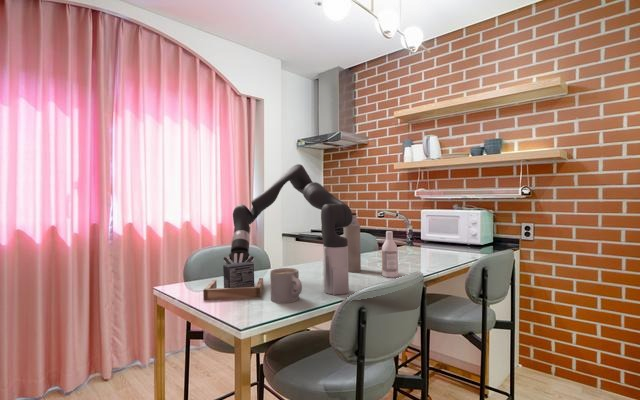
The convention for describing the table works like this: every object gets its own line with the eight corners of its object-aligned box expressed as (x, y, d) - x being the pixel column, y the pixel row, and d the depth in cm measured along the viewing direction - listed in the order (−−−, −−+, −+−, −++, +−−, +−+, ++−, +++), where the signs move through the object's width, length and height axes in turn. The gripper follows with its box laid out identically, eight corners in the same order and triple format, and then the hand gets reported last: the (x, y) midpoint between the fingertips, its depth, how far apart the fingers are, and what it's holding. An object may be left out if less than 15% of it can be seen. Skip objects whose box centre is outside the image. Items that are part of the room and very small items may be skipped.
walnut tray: (212, 288, 141) (212, 280, 141) (263, 286, 142) (262, 278, 142) (203, 299, 125) (203, 290, 125) (260, 297, 127) (259, 287, 127)
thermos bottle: (344, 268, 175) (343, 212, 175) (360, 268, 174) (359, 212, 174) (344, 272, 167) (342, 213, 167) (360, 272, 166) (359, 213, 166)
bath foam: (384, 273, 162) (383, 230, 162) (399, 275, 159) (398, 230, 159) (380, 277, 155) (379, 231, 155) (396, 278, 152) (395, 232, 152)
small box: (248, 286, 143) (248, 261, 142) (255, 290, 137) (254, 263, 137) (223, 291, 136) (222, 264, 136) (229, 294, 131) (228, 266, 131)
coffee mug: (266, 298, 126) (265, 270, 126) (290, 293, 131) (290, 266, 131) (283, 307, 115) (282, 276, 115) (309, 301, 120) (308, 272, 120)
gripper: (256, 248, 156) (254, 282, 144) (226, 248, 155) (221, 283, 142) (255, 237, 150) (252, 272, 138) (223, 238, 149) (218, 273, 137)
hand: (237, 277), depth 140 cm, fingers closed
